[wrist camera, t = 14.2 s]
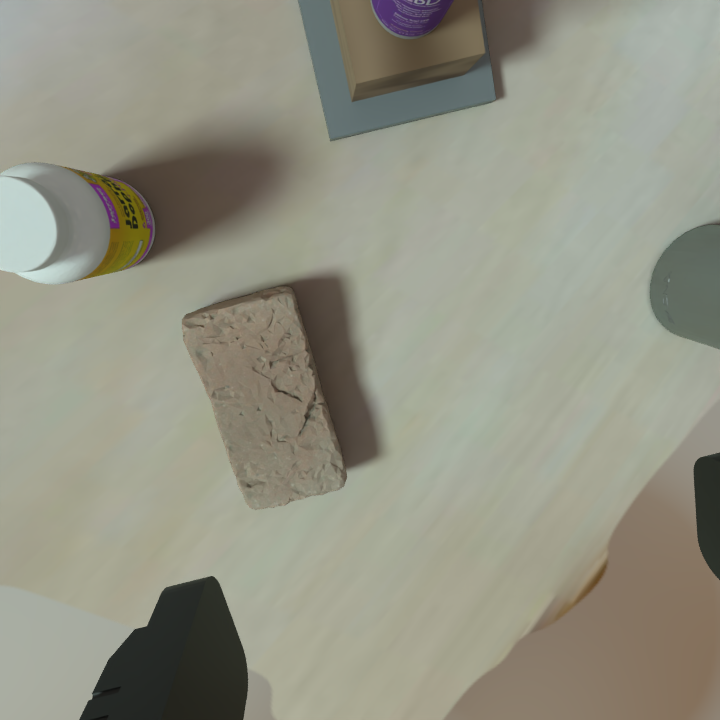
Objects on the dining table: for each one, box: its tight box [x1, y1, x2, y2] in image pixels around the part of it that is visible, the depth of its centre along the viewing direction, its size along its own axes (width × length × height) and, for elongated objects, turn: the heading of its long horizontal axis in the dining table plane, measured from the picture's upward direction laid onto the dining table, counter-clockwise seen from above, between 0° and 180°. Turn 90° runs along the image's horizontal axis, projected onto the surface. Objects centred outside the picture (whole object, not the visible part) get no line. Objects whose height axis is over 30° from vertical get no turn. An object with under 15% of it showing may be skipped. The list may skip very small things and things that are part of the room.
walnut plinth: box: [330, 0, 485, 102], centre depth 33 cm, size 8×8×5 cm
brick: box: [182, 286, 347, 510], centre depth 40 cm, size 17×8×5 cm, turn 15°
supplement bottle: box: [0, 162, 155, 284], centre depth 32 cm, size 7×7×13 cm
